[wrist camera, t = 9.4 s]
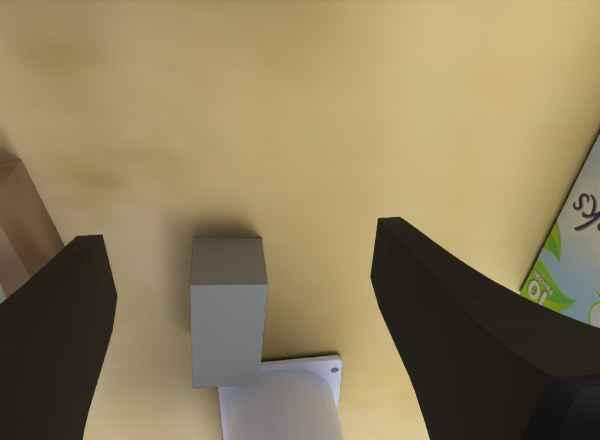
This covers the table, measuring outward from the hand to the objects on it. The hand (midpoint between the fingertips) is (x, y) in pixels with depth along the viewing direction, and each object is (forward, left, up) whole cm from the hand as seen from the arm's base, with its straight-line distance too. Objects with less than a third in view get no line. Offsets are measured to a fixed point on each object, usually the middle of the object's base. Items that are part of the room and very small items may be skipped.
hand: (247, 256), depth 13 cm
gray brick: (-10, +1, -11) cm, 15 cm away
